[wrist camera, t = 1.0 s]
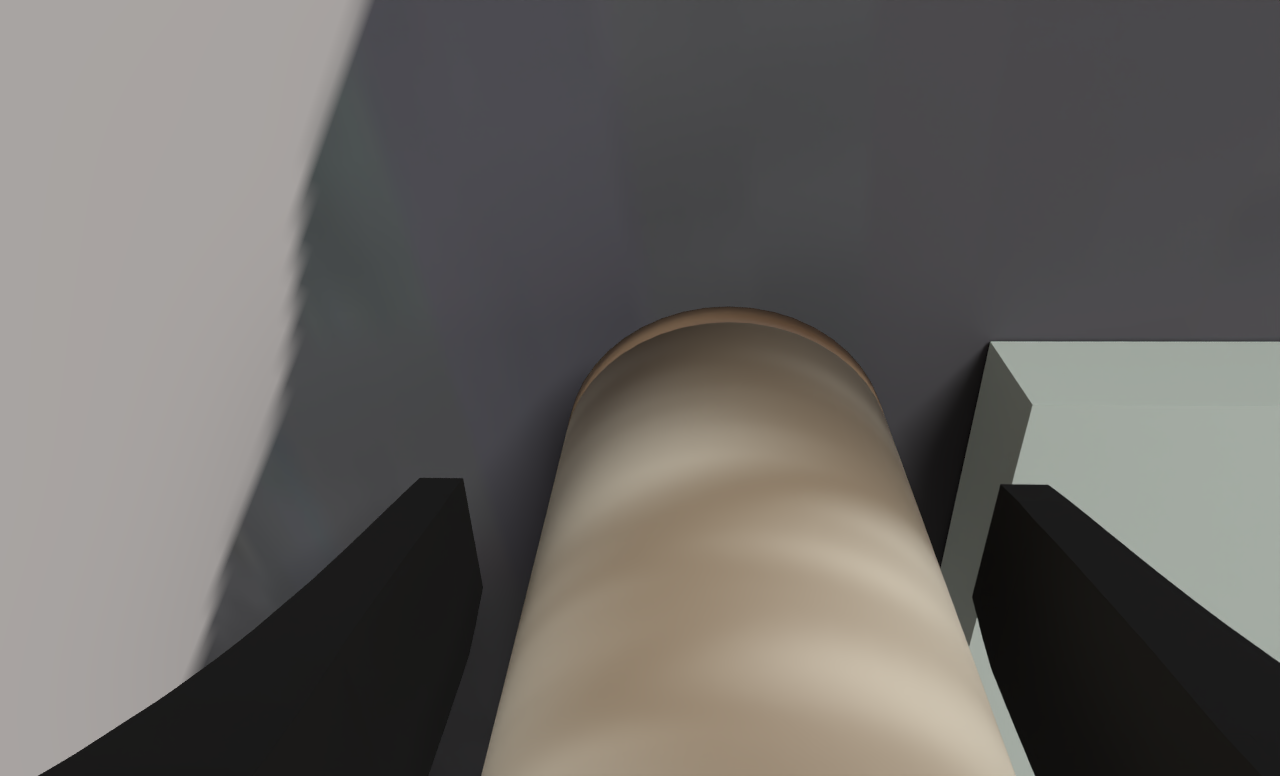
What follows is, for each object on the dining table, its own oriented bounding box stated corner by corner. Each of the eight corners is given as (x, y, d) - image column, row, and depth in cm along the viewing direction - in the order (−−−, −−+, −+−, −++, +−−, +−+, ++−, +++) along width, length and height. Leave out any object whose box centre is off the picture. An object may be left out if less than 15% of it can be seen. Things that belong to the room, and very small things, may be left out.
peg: (880, 258, 13) (1136, 753, 5) (848, 501, 15) (991, 1067, 8) (572, 260, 13) (407, 727, 6) (590, 497, 16) (495, 1036, 8)
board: (1699, 342, 13) (1854, 410, 11) (1274, 921, 22) (1323, 1007, 20) (990, 341, 14) (1032, 404, 12) (867, 902, 23) (881, 982, 21)
